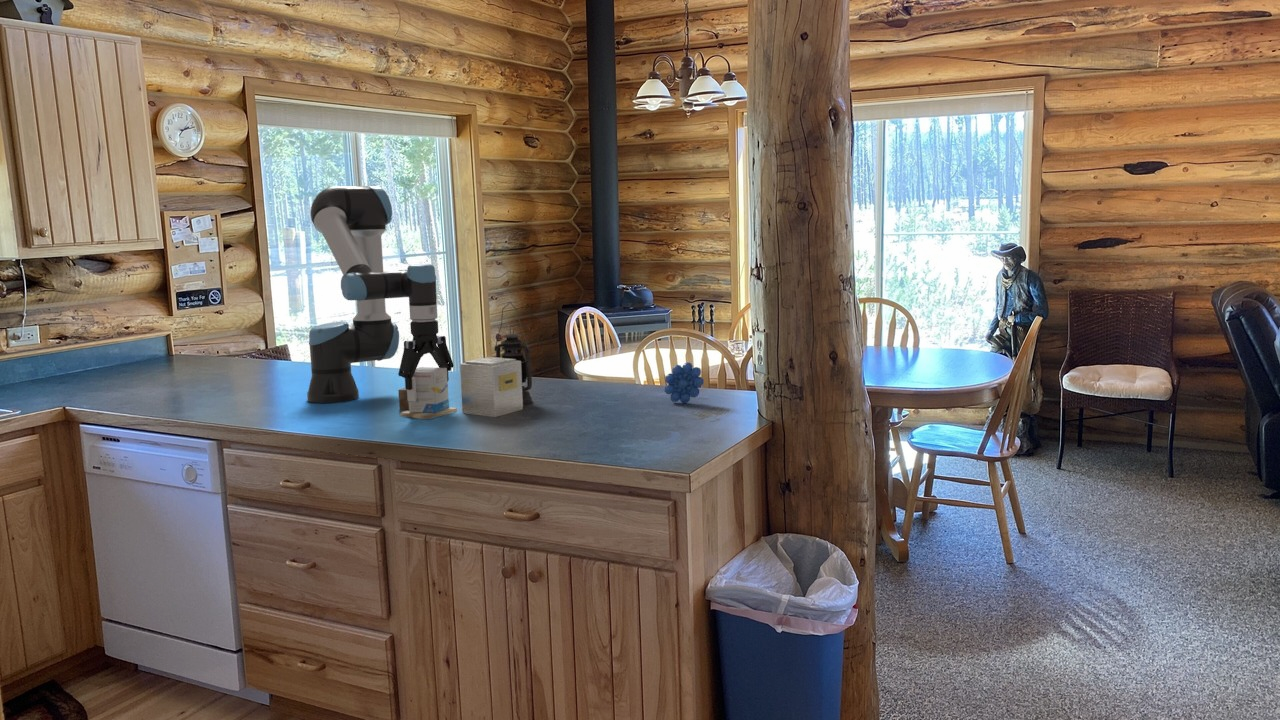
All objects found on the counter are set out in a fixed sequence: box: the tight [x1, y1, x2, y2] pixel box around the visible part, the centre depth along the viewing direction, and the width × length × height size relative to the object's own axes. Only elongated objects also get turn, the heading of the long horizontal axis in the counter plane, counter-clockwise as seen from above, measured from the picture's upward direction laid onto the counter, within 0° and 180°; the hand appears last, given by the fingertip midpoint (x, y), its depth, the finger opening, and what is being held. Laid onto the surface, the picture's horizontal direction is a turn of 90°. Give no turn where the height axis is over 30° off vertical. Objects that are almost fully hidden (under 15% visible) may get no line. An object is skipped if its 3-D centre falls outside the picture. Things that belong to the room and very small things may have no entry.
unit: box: [459, 356, 524, 418], centre depth 269 cm, size 12×12×15 cm
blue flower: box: [664, 362, 704, 404], centre depth 276 cm, size 12×7×12 cm, turn 74°
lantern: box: [494, 301, 533, 406], centre depth 280 cm, size 12×11×30 cm
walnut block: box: [397, 387, 409, 412], centre depth 276 cm, size 5×5×6 cm
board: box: [400, 406, 458, 420], centre depth 269 cm, size 10×12×1 cm
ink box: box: [409, 366, 450, 413], centre depth 268 cm, size 9×8×12 cm
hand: (428, 397), depth 268 cm, fingers open, 12 cm apart
